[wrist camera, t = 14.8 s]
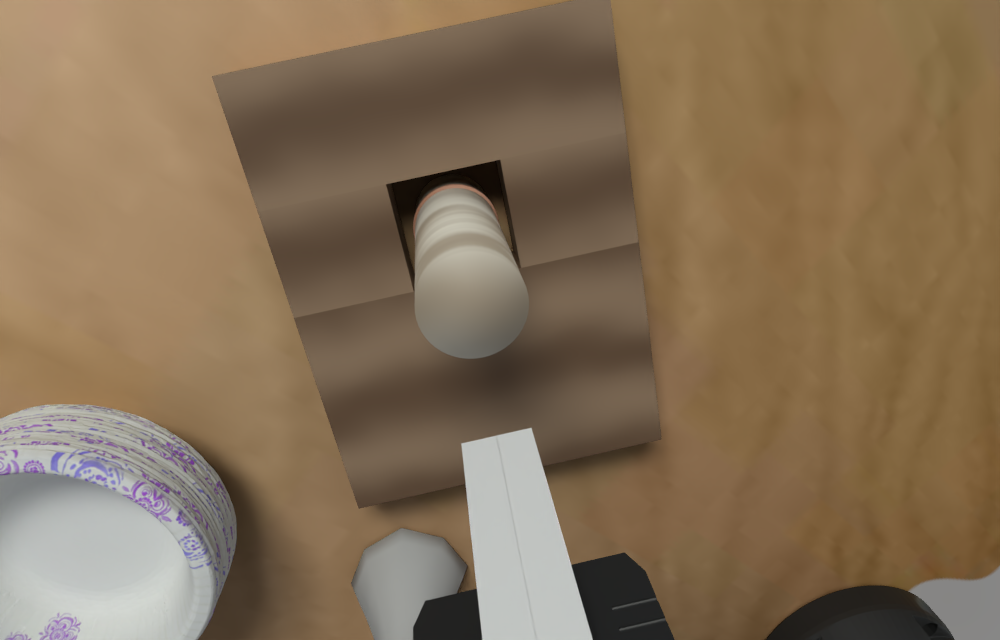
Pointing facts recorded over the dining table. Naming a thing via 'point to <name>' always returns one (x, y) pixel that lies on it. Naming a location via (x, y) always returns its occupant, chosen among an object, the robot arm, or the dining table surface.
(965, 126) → the dining table surface
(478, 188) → the peg
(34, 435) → the paper bowls
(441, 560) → the flask
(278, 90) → the board
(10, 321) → the dining table surface
